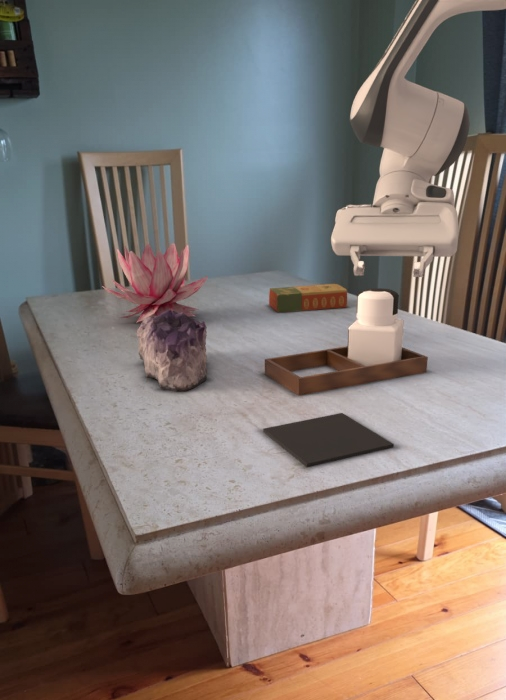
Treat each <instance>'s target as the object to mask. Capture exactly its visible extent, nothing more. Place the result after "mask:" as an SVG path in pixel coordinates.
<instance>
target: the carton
mask: <svg viewBox="0 0 506 700" xmlns="http://www.w3.org/2000/svg"><path fill="white" fill-rule="evenodd" d="M268 305H269V307H271V308H272V309H273V310H274V311H275V312H276V313H279V314H280V313H290V312H304V311H315V310H316V311H317V310H330V309H331V310H332V309H342V308H347V307H348V290H347V289H346V288H345V287H343V286H342V285H340V284H337V283H325V284H313V285H298V286H286V287H285V286H283V287H270V288H269V293H268Z"/></svg>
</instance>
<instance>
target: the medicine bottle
mask: <svg viewBox="0 0 506 700" xmlns="http://www.w3.org/2000/svg"><path fill="white" fill-rule="evenodd" d="M399 299H400V295H399V293H398V292H397V291H395V290H393V289H390V288H376V287H375V288H367V289H364V290H362V291H359V293H358V294H357V295H356V320H355V321H354V322H353V323H352V324H351V325H350V326H348V329H347V346H348V353H347V358H349V359H351V360H353V361H355V362H358V363H360V364H362V365H364V366H369V365H375V364H381V363H387V362H393V361H399V360H401V356H402V347H403V341H404V339H403V338H404V325H405V321H404V319H401V318H398V315H399V302H400V301H399Z"/></svg>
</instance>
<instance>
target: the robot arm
mask: <svg viewBox="0 0 506 700" xmlns="http://www.w3.org/2000/svg"><path fill="white" fill-rule="evenodd" d="M500 10H501V11H503V10H506V0H415V1H414V3H413V4H412V6H411V7H410V9H409V11H408V12H407V14H406V16H405V18H404V19H403V21H402V23H401V24H400V26H399V28H398V29H397V31H396V33H395V34H394V36H393V37H392V39H391V40H390V42H389V44H388V46H387V48H386V49H385V50H384V52H383V54H382V56H381V57H380V59H379V60H378V62H377V63H376V65H375V66H374V68H373V69H372V71H371V72H370V73H369V75H368V77H367V78H366V80H365V81H363V84H361V86H360V88H359V89H358V90H357V93H356V94H355V97H354V99H353V102H352V105H351V109H350V114H349V123H350V126H351V129H352V131H353V133H354V135H355V137H356V139H358V141H359V143H361V144H365V145H369V146H372V147H377V148H383V151H382V155H381V158H380V162H379V178H378V180H377V182H376V185H375V190H374V195H373V201H372V203H364V204H346V205H345V206H344V207H342V208H340V209H338V210H337V212H336V214H335V219H334V227H333V230H332V232H331V237H330V243H331V244H330V245H331V247H332V248H331V249H332V251H333V252H334V254H335V255H336V256H347V257H348V256H350V260H351V262H352V264H353V275H354V276H355V277H358V276H359V277H361V276H362V277H364V275H365V273H364V272H365V269H366V265H365V261H364V260H361V256H362V257H422V258H421V260H420V261H414V264H413V265H414V266H413V272H412V274H413V278H423V277H424V275H425V274H424V273H425V270H426V268H427V267H428V266H430V264H432V262H433V259H434V257H435V258H437V257H438V258H442V257H443V258H450V257H453V256H454V255H455V254H456V253H457V251H458V245H459V244H458V243H459V216H458V211H457V208H456V207H455V194H454V193H455V192H454V190H453V189H451V188H449V187H444V186H441V185H436V184H433V183H430V180H431V179H432V177H437V176H438V175H441V174H442V173H443V172H444V171H446V170H448V169H449V168H450V167H451V166H452V165H454V164H455V162H456V161H458V159H459V158H460V156H461V155H462V153H463V152H464V151H463V150H464V149H465V146H466V144H467V140H468V136H469V132H470V126H471V122H470V115H469V110H468V107H467V105H466V103H465V102H463V101H461V100H460V99H457V98H454V97H452V96H449V95H447V94H444V93H442V92H441V91H437V90H436V91H435V90H432V89H430V88H427V87H425V86H423V85H420V84H417V83H414V82H412V81H410V80H408V79H407V78H405V77H406V75H407V73H408V72H409V70H410V69H411V67H412V65H414V62H415V61H416V59H417V58H418V56H419V54H420V53H421V52H422V50H423V48H424V47H425V46H426V44H427V42H428V41H429V39H430V37H432V34H433V33H434V31H435V30H436V29H437V28H438V27H439V26H440V25H441V24H442V23H443V22H444V21H446V20H448V19H449V18H451V17H453V16H454V17H455V16H457V15H460V14H464V13H472V12H483V11H500Z"/></svg>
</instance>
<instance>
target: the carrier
mask: <svg viewBox="0 0 506 700" xmlns="http://www.w3.org/2000/svg"><path fill="white" fill-rule="evenodd" d="M347 353H348V345H347V346H346V345H345V346H340V347H333V348H326V349H321V350H313V351H308V352H301V353H296V354H295V353H294V354H288V355H282V356H276V357H269V358H264V375H265V376H267V377H268V378H270V379H271V380H273V381H275V382H276V383H278V384H279V385H281V386H283V387H284V388H286V389H288V390H289V391H291V392H292V393H294V394H296V395H297V396H303V395H310V394H315V393H320V392H326V391H330V390H331V391H332V390H337V389H343V388H347V387H353V386H359V385H364V384H365V385H366V384H370V383H376V382H381V381H386V380H392V379H397V378H403V377H408V376H414V375H419V374H424V373H427V371H428V370H427V369H428V358H429V357H428V356H427V355H424V354H422V353H419V352H416V351H414V350H411V349H409V348H406V347H403V346H402V356H401V360H399V361H393V362H387V363H381V364H375V365H369V366H364V365H362V364H360V363H358V362H355V361H353V360H351V359H349V358H347ZM325 366H328V367H329V368H331V369H334V371H330V372H323V373H317V374H312V375H306V376H299V375H298V374H296V373H294V372H295V371H300V370H306V369H307V370H308V369H312V368H319V367H325Z"/></svg>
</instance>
